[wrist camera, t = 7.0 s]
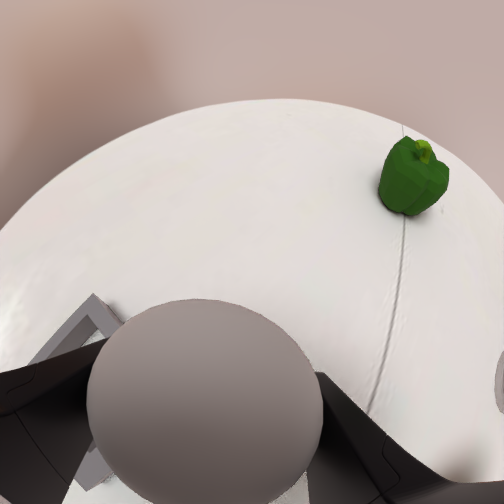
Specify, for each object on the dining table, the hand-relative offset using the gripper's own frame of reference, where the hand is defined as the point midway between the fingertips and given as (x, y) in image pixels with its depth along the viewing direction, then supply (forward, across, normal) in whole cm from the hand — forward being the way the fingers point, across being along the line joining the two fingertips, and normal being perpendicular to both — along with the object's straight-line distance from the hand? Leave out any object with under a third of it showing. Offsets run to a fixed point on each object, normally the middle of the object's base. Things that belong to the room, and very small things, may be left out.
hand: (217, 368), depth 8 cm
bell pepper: (+26, -17, -7) cm, 32 cm away
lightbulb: (+4, 0, +6) cm, 7 cm away
